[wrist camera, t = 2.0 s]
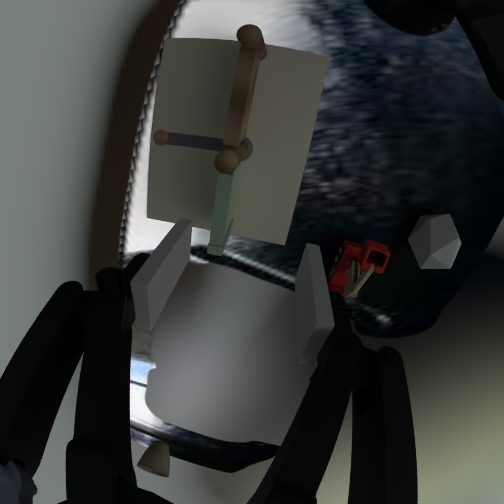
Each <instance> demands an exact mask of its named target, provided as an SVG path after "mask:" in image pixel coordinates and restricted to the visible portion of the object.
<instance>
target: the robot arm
mask: <svg viewBox="0 0 504 504" xmlns="http://www.w3.org/2000/svg"><path fill="white" fill-rule="evenodd" d="M364 2H365V3H366V4H367V6H368V7H369V8H370V9H371V10H372V11H373V12H374V13H375V14H376V15H378V16H379V17H380V18H381V19H383V20H384V21H385V22H387V23H388V24H390V25H392V26H393V27H395V28H397V29H399V30H401V31H404V32H407V33H410V34H414V35H420V36H427V35H432V34H435V33H438V32H441V31H443V30H445V29H446V28H447V27H448V26H449V25H450V24H451V22H452V21H453V19H454V18H455V17H456V18H457V20H458V22H459V23H460V25H461V27H462V28H463V30H464V32H465V34H466V36H467V37H468V39H469V41H470V43H471V45H472V47H473V49H474V51H475V53H476V55H477V57H478V59H479V61H480V63H481V65H482V67H483V70H484V72H485V74H486V77H487V79H488V81H489V84H490V89H491V92H492V94H493V95H494V96H495V98H496V100H497V103H498V105H499V108H500V111H501V113H502V116H503V118H504V0H364ZM465 22H466V23H465ZM192 221H193V220H191V219H186V218H180V219H179V220H178V221H177V223H176V224H175V225H174V226H173V227H172V229H171V230H170V231H169V232H168V234H167V235H166V236H165V237H164V239H163V240H162V241H161V242H160V244H159V245H158V246H157V248H156V249H155V250H154V251H153V253H152V254H147V253H140V254H138V255H136V256H135V257H134V258H133V259H132V260H131V261H130V263H129V264H128V265H127V266H126V268H124V270H123V271H122V270H120V269H118V268H115V267H108V268H104V269H102V270H100V271H99V272H97V274H96V275H95V278H96V283H97V288H98V291H86V290H85V291H84V290H83V287H82V285H81V284H80V283H79V282H77V281H68V282H65V283H63V284H62V285H61V286H60V287H58V289H57V290H56V291H55V293H54V294H53V296H52V297H51V298H50V300H49V301H48V302H47V304H46V305H45V307H44V308H43V310H42V311H41V312H40V314H39V315H38V317H37V318H36V320H35V321H34V323H33V324H32V326H31V327H30V329H29V330H28V332H27V333H26V335H25V337H24V338H23V340H22V341H21V343H20V345H19V347H18V348H17V350H16V351H15V353H14V355H13V357H12V358H11V360H10V362H9V364H8V365H7V367H6V369H5V371H4V373H3V375H2V376H1V378H0V504H33V500H32V498H33V495H35V494H36V493H37V487H36V485H35V484H34V481H33V479H32V477H33V476H34V474H35V473H36V471H37V469H38V467H39V465H40V462H41V459H42V456H43V453H44V450H45V447H46V444H47V441H48V438H49V435H50V432H51V429H52V426H53V423H54V421H55V418H56V415H57V413H58V410H59V407H60V405H61V402H62V400H63V397H64V394H65V392H66V390H67V388H68V385H69V383H70V380H71V378H72V376H73V374H74V371H75V369H76V367H77V365H78V362H79V360H80V358H81V356H82V354H83V352H84V354H83V360H82V366H81V372H80V379H79V386H78V394H77V402H76V413H75V425H74V436H73V439H72V440H71V441H70V442H68V445H67V448H66V494H67V500H65V501H63V502H60V503H58V504H174V503H172V502H170V501H168V500H166V499H164V498H162V497H160V496H158V495H156V494H155V493H153V492H150V491H147V490H144V489H141V488H138V487H137V481H136V475H135V471H134V468H133V465H132V453H131V436H130V364H131V346H132V327H131V326H132V324H133V322H134V321H135V320H136V327H137V328H140V329H144V330H147V331H150V332H151V331H152V329H153V327H154V325H155V323H156V321H157V319H158V317H159V315H160V313H161V311H162V309H163V307H164V305H165V304H166V301H167V300H168V298H169V296H170V294H171V292H172V290H173V288H174V286H175V285H176V283H177V281H178V279H179V277H180V275H181V273H182V272H183V270H184V268H185V266H186V264H187V263H188V261H189V259H190V247H191V234H192ZM295 288H296V314H297V315H296V316H297V363H302V364H310V365H313V364H314V362H315V361H316V359H317V362H318V366H317V368H316V369H315V371H314V373H313V374H312V376H311V378H310V383H309V386H308V388H307V391H306V393H305V395H304V397H303V400H302V402H301V404H300V406H299V409H298V411H297V413H296V415H295V417H294V420H293V422H292V424H291V426H290V428H289V430H288V432H287V434H286V436H285V438H284V441H283V442H282V444H281V446H280V448H279V450H278V452H277V454H276V456H275V458H274V460H273V462H272V464H271V465H270V467H269V469H268V471H267V473H266V475H265V476H264V478H263V480H262V482H261V483H260V485H259V487H258V489H257V490H256V492H255V493H254V495H253V496H252V497H251V498H250V500H249V501H248V502H247V504H317V499H316V493H317V490H318V488H319V485H320V483H321V481H322V478H323V476H324V473H325V471H326V468H327V465H328V463H329V460H330V458H331V455H332V452H333V449H334V446H335V443H336V441H337V438H338V435H339V431H340V429H341V425H342V422H343V419H344V416H345V412H346V409H347V406H348V402H349V398H350V395H351V391H352V402H353V403H352V408H353V409H352V413H353V414H352V418H353V419H352V420H353V421H352V454H351V472H350V485H349V496H348V504H418V503H417V501H418V499H417V498H418V491H417V489H418V486H417V460H416V447H415V436H414V427H413V419H412V412H411V404H410V398H409V392H408V386H407V380H406V375H405V370H404V365H403V360H402V357H401V355H400V354H399V352H398V351H397V350H395V349H394V348H392V347H389V346H383V347H381V348H380V349H379V350H378V352H377V351H374V350H371V349H369V348H366V347H364V346H363V345H362V342H361V340H360V338H359V337H358V336H357V335H356V334H354V333H353V331H352V326H351V322H350V318H349V314H348V310H347V305H346V301H345V299H344V298H343V296H342V295H341V294H340V293H339V292H333V291H328V286H327V281H326V276H325V271H324V266H323V261H322V257H321V252H320V248H319V246H318V245H313V244H309V243H307V244H306V248H305V251H304V254H303V257H302V260H301V264H300V267H299V270H298V273H297V276H296V279H295Z"/></svg>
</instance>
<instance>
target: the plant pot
mask: <svg viewBox="0 0 504 504" xmlns="http://www.w3.org/2000/svg"><path fill="white" fill-rule="evenodd" d="M169 456H170V455H169V446H168V445H166V444H164V443H162V442H159V441H154V442H153V443H152V444H151V445H150V446H149V447H148V449H147V450H146V451H145V452H144V454H143V456H142V457H141V459H140V461H139V462H138V464H137V466H138V467H139V468H141V469H143V470H145V471H147V472H150V473H153V474H156V475H159V476H163V477H169V469H170V457H169Z"/></svg>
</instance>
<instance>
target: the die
mask: <svg viewBox="0 0 504 504" xmlns="http://www.w3.org/2000/svg"><path fill="white" fill-rule="evenodd" d="M408 241H409V243H410V245H411V248H412V250H413V252H414V255H415V257H416V259H417V262H418V264H419V266H420V268H423V269H450V268H451V266H452V264H453V262H454V259H455V257H456V255H457V252H458V250H459V248H460V245H461V241H460V239H459V236H458V233H457V231H456V228H455V226H454V223H453V221H452V219H451V216H450V214H439V215H424V216H420V218H419V220H418V221H417V223H416V225H415V227H414V229H413V231H412V232H411V234H410V236H409V238H408Z"/></svg>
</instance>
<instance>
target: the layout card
mask: <svg viewBox="0 0 504 504" xmlns="http://www.w3.org/2000/svg"><path fill="white" fill-rule="evenodd" d="M265 46H266V50H267V55H266V57H265V58H264V59H263V60H260V64H259V69H258V74H257V79H256V84H255V89H254V95H253V100H252V105H251V110H250V116H249V121H248V127H247V132H246V138H245V139H244V140H243V141H245V142H246V143H247V144H248V148H249V149H248V152H247V154H246V155H245V157H244V158H243V159H242V161H241V166H240V172H239V178H238V184H237V190H236V196H235V202H234V208H233V214H232V219H233V220H234V223H233V228H232V230H231V233H230V234H232V235H237V236H242V237H247V238H252V239H256V240H261V241H266V242H271V243H276V244H281V245H285V242H286V239H287V235H288V231H289V227H290V223H291V220H292V216H293V212H294V208H295V204H296V200H297V196H298V192H299V188H300V184H301V180H302V176H303V172H304V168H305V164H306V159H307V155H308V151H309V147H310V142H311V138H312V134H313V130H314V125H315V121H316V116H317V112H318V107H319V103H320V98H321V94H322V89H323V84H324V79H325V75H326V70H327V65H328V60H329V58H328V57H324V56H320V55H316V54H312V53H308V52H303V51H299V50H294V49H289V48H284V47H278V46H272V45H266V44H265ZM240 47H242V45H241V44H240V42H239V41H234V40H221V39H202V38H166V39H165V44H164V49H163V54H162V59H161V65H160V71H159V77H158V83H157V90H156V97H155V105H154V113H153V122H152V132H151V143H150V157H149V174H148V201H147V218H151V219H156V220H161V221H166V222H171V223H177V221H178V220H179V219H180V218H186V219H191V220H193V221H192V227H197V228H202V229H207V230H211V225H212V217H213V209H214V201H215V194H216V186H217V179H218V173H219V171H218V170H217V169H216V167H215V165H214V159H215V156H216V155H217V154H218V153H219V152H221V151H222V150H223V149H225V148H226V147H227V146H229V145H224V144H223V139H224V133H225V127H226V121H227V115H228V109H229V103H230V98H231V92H232V87H233V81H234V76H235V71H236V66H237V61H238V56H239V51H240Z"/></svg>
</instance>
